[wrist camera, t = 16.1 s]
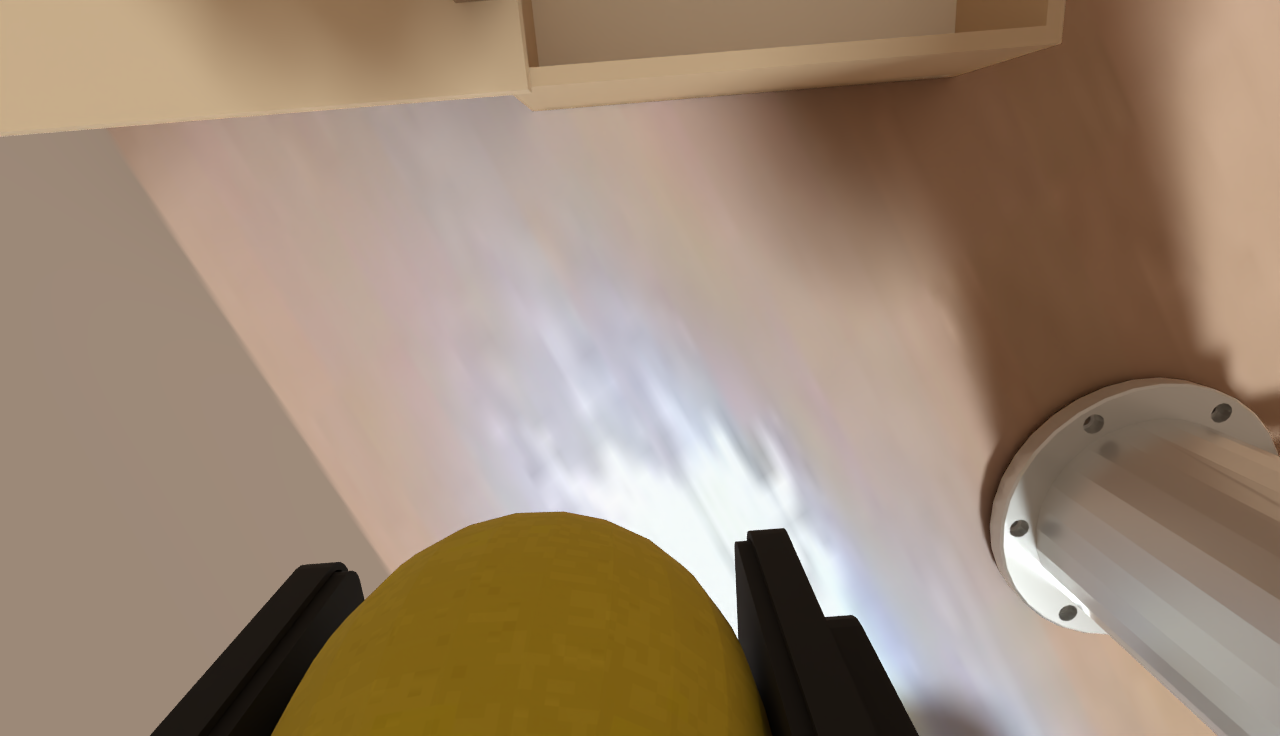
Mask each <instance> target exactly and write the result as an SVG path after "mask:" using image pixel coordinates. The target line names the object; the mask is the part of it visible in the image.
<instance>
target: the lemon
mask: <svg viewBox="0 0 1280 736" xmlns="http://www.w3.org/2000/svg"><path fill="white" fill-rule="evenodd" d="M271 736H772V732H771V729H770V725H769V721H768V718H767V714H766V711H765V708H764V705H763V702H762V700H761V697H760V694H759V691H758V689H757V686H756V683H755V681H754V678H753V675H752V672H751V670H750V667H749V664H748V662H747V659H746V657H745V654H744V652H743V649H742V646H741V644H740V643H739V641H738V639H737V637H736V635H735V633H734V631H733V629H732V627H731V626H730V624H729V623H728V621H727V620H726V619H725V617H724V616H723V614H722V613H721V611H720V610H719V609H718V607H717V606H716V605H715V603H714V602H713V601H712V600H711V598H710V597H709V596H708V594H707V593H706V592H705V590H704V589H703V588H702V586H701V585H700V584H699V582H698V581H697V580H696V578H695V577H694V576H693V575H692V574H691V573H690V572H689V571H688V570H687V569H686V568H685V567H684V566H682V565H681V564H680V563H678V562H677V561H676V560H675V559H673V558H672V557H671V556H670V555H668V554H667V553H666V552H664V551H663V550H662V549H661V548H659V547H658V546H657V545H655V544H654V543H653V542H652V541H650V540H649V539H647V538H645V537H642V536H640V535H638V534H636V533H634V532H631V531H629V530H627V529H625V528H623V527H620V526H618V525H616V524H614V523H612V522H609V521H607V520H604V519H599V518H594V517H589V516H583V515H578V514H573V513H568V512H538V513H515V514H511V515H507V516H503V517H500V518H496V519H492V520H488V521H484V522H480V523H477V524H473V525H470V526H468V527H465V528H463V529H461V530H459V531H457V532H455V533H453V534H452V535H450V536H448V537H446V538H444V539H443V540H441V541H439V542H437V543H435V544H433V545H432V546H430V547H428V548H426V549H424V550H423V551H421V552H419V553H417V554H416V555H414V556H413V557H412V558H410V559H409V560H407V561H406V562H405V563H403V564H402V565H401V566H400V567H398V568H397V569H396V570H395V571H394V572H393V573H392V574H391V575H390V576H389V577H388V578H387V579H386V580H385V581H384V582H383V583H382V584H381V585H380V586H379V587H378V588H377V589H376V590H375V591H374V592H373V593H372V594H371V595H369V596H368V598H366V599H365V600H364V601H363V602H362V603H361V604H360V605H359V606H358V607H357V608H356V609H355V610H354V611H353V612H352V613H351V614H350V615H349V616H348V617H347V618H346V619H345V620H344V622H343V623H342V624H341V625H340V626H339V627H338V629H337V630H336V631H335V632H334V633H333V634H332V635H331V637H330V638H329V639H328V641H327V642H326V644H325V645H324V646H323V648H322V649H321V651H320V652H319V653H318V655H317V656H316V658H315V659H314V660H313V662H312V664H311V665H310V667H309V669H308V670H307V672H306V674H305V675H304V677H303V679H302V680H301V682H300V684H299V686H298V687H297V689H296V691H295V693H294V694H293V696H292V698H291V700H290V702H289V703H288V705H287V707H286V709H285V711H284V713H283V714H282V716H281V718H280V720H279V722H278V723H277V725H276V727H275V729H274V731H273V732H272V734H271Z"/></svg>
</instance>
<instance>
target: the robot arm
mask: <svg viewBox="0 0 1280 736" xmlns="http://www.w3.org/2000/svg"><path fill="white" fill-rule="evenodd" d="M990 535H991V548H992V551H993V554H994V558H995V561H996V564H997V567H998V569H999V571H1000V572H1001V574H1002V576H1003V577H1004V579H1005V581H1006V582H1007V584H1008V586H1009V587H1010V588H1011V589H1012V590H1013V591H1014V592H1015V593H1016V594H1017V595H1018V596H1019V597H1020V599H1021V600H1022V601H1023V602H1024V603H1025V604H1026V605H1027V606H1029V607H1030V608H1031V609H1032V610H1034V611H1035V612H1036V613H1037V614H1039V615H1040V616H1041V617H1042V618H1044V619H1046V620H1048V621H1050V622H1052V623H1054V624H1056V625H1058V626H1061V627H1064V628H1068V629H1071V630H1075V631H1079V632H1083V633H1094V634H1107V635H1108V634H1109V635H1110V636H1111V637H1112V638H1113V639H1114V640H1115V641H1116V642H1117V643H1118V644H1119V645H1120V646H1121V647H1123V648H1124V649H1125V650H1126V651H1127V652H1128V653H1129V654H1130V655H1131V656H1132V657H1133V658H1134V659H1136V660H1137V661H1138V662H1139V663H1140V664H1141V665H1142V666H1143V667H1144V668H1145V669H1146V670H1147V671H1148V672H1150V673H1151V674H1152V675H1153V676H1154V677H1155V678H1156V679H1157V680H1158V681H1159V682H1160V683H1161V684H1163V685H1164V686H1165V687H1166V688H1167V689H1168V690H1169V691H1170V692H1171V693H1172V694H1173V695H1174V696H1175V697H1177V698H1178V699H1179V700H1180V701H1181V702H1182V703H1183V704H1184V705H1185V706H1186V707H1187V708H1188V709H1190V710H1191V711H1192V712H1193V713H1194V714H1195V715H1196V716H1197V717H1198V718H1199V719H1200V720H1201V721H1202V722H1204V723H1205V724H1206V725H1207V726H1208V727H1209V728H1210V729H1211V730H1212V731H1213V732H1214V733H1215V734H1217V735H1218V736H1280V457H1279V456H1278V451H1277V449H1276V447H1275V444H1274V442H1273V439H1272V437H1271V435H1270V432H1269V431H1268V429H1267V428H1266V427H1265V425H1264V424H1263V423H1262V421H1261V420H1260V419H1259V417H1258V416H1257V415H1256V414H1255V413H1254V412H1253V411H1252V410H1250V409H1249V408H1248V407H1246V406H1245V405H1244V404H1243V403H1241V402H1240V401H1239V400H1238V399H1236V398H1233V397H1231V396H1229V395H1227V394H1224V393H1222V392H1220V391H1218V390H1216V389H1213V388H1210V387H1206V386H1203V385H1200V384H1197V383H1194V382H1190V381H1187V380H1180V379H1170V378H1160V377H1159V378H1147V379H1136V380H1130V381H1126V382H1122V383H1118V384H1115V385H1111V386H1107V387H1104V388H1102V389H1099V390H1097V391H1095V392H1093V393H1090V394H1088V395H1086V396H1084V397H1081V398H1079V399H1077V400H1076V401H1074V402H1073V403H1071V404H1070V405H1068V406H1066V407H1065V408H1063V409H1062V410H1060V411H1059V412H1057V413H1056V414H1054V415H1053V416H1052V417H1051V418H1049V419H1048V420H1047V421H1046V422H1045V423H1044V424H1043V425H1042V426H1041V427H1039V428H1038V429H1037V430H1036V431H1035V432H1034V433H1033V434H1032V435H1031V436H1030V437H1029V438H1028V440H1027V441H1026V442H1025V443H1024V445H1023V446H1022V447H1021V448H1020V449H1019V451H1018V452H1017V453H1016V454H1015V456H1014V457H1013V459H1012V461H1011V463H1010V464H1009V466H1008V468H1007V470H1006V471H1005V473H1004V475H1003V477H1002V478H1001V481H1000V484H999V487H998V490H997V493H996V496H995V498H994V501H993V507H992V514H991V521H990ZM735 571H736V594H737V617H738V641H739V643H740V644H741V646H742V649H743V652H744V654H745V657H746V659H747V662H748V664H749V667H750V670H751V672H752V675H753V678H754V681H755V683H756V686H757V689H758V691H759V694H760V697H761V700H762V702H763V705H764V708H765V711H766V714H767V718H768V721H769V725H770V729H771V732H772V736H919V735H918V733H917V731H916V729H915V727H914V725H913V724H912V722H911V720H910V718H909V716H908V714H907V712H906V710H905V708H904V706H903V704H902V702H901V700H900V698H899V697H898V695H897V693H896V691H895V689H894V687H893V685H892V683H891V681H890V679H889V677H888V675H887V673H886V671H885V670H884V668H883V666H882V664H881V662H880V660H879V658H878V656H877V654H876V652H875V650H874V648H873V646H872V644H871V643H870V641H869V639H868V637H867V635H866V633H865V631H864V629H863V627H862V625H861V624H860V622H859V621H858V619H857V618H856V617H854V616H853V615H847V616H834V617H824V614H823V612H822V610H821V608H820V605H819V603H818V601H817V599H816V596H815V594H814V592H813V590H812V587H811V585H810V583H809V581H808V578H807V576H806V574H805V572H804V569H803V567H802V565H801V563H800V560H799V558H798V556H797V553H796V551H795V549H794V547H793V544H792V542H791V540H790V538H789V535H788V533H787V531H786V530H785V529H784V528H780V529H767V530H754V531H748V533H747V541H738V542H735ZM363 601H364V596H363V592H362V587H361V583H360V579H359V576H358V575H357V573H356V572H354V571H348V569H347V567H346V566H345V565H344V564H343V563H341V562H335V563H321V564H307V565H302V566H300V567H298V568H297V569H296V570H295V571H294V572H293V574H292V575H291V576H290V577H289V578H288V579H287V580H286V582H284V584H283V585H282V586H281V587H280V588H279V589H278V590H277V592H276V593H275V594H274V595H273V596H272V597H271V598H270V600H269V601H268V602H267V603H266V604H265V605H264V606H263V608H262V609H261V610H260V611H259V612H258V613H257V614H256V616H255V617H254V618H253V619H252V620H251V622H250V623H248V625H247V626H246V627H245V628H244V629H243V630H242V631H241V633H240V634H239V635H238V636H237V637H236V639H234V641H233V642H232V643H231V644H230V645H229V646H228V647H227V649H226V650H225V651H224V652H223V653H222V654H221V655H220V656H219V658H218V659H217V660H216V661H215V662H214V663H213V664H212V666H211V667H210V668H209V669H208V670H207V671H206V672H205V674H204V675H203V676H202V677H201V678H200V679H199V680H198V682H197V683H196V684H195V685H194V686H193V687H192V689H191V690H190V691H189V692H188V693H187V694H186V695H185V697H184V698H183V699H182V700H181V701H180V702H179V703H178V704H177V706H176V707H175V708H174V709H173V710H172V711H171V712H170V713H169V715H168V716H167V717H166V718H165V719H164V720H163V721H162V723H161V724H160V725H159V726H158V727H157V728H156V730H154V732H153V733H152V734H151V735H150V736H271V734H272V732H273V731H274V729H275V727H276V725H277V723H278V722H279V720H280V718H281V716H282V714H283V713H284V711H285V709H286V707H287V705H288V703H289V702H290V700H291V698H292V696H293V694H294V693H295V691H296V689H297V687H298V686H299V684H300V682H301V680H302V679H303V677H304V675H305V674H306V672H307V670H308V669H309V667H310V665H311V664H312V662H313V660H314V659H315V658H316V656H317V655H318V653H319V652H320V651H321V649H322V648H323V646H324V645H325V644H326V642H327V641H328V639H329V638H330V637H331V635H332V634H333V633H334V632H335V631H336V630H337V629H338V627H339V626H340V625H341V624H342V623H343V622H344V620H345V619H346V618H347V617H348V616H349V615H350V614H351V613H352V612H353V611H354V610H355V609H356V608H357V607H358V606H359V605H360V604H361V603H362V602H363Z"/></svg>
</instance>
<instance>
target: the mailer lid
mask: <svg viewBox="0 0 1280 736" xmlns="http://www.w3.org/2000/svg"><path fill="white" fill-rule="evenodd" d="M530 93H532V90H531V82H530V73H529V65H528V56H527V48H526V40H525V31H524V23H523V14H522V6H521V0H0V137H2V136H14V135H26V134H39V133H51V132H62V131H75V130H86V129H87V130H88V129H100V128H112V127H125V126H137V125H149V124H161V123H174V122H186V121H198V120H211V119H223V118H235V117H247V116H260V115H272V114H284V113H296V112H309V111H321V110H333V109H346V108H358V107H370V106H382V105H395V104H407V103H419V102H431V101H444V100H456V99H468V98H480V97H493V96H505V95H517V94H530Z"/></svg>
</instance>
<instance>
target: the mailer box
mask: <svg viewBox="0 0 1280 736" xmlns="http://www.w3.org/2000/svg"><path fill="white" fill-rule="evenodd" d="M1065 5H1066V0H521V6H522V14H523V23H524V31H525V40H526V48H527V56H528V65H529V73H530V82H531V90H532V93H530V94H517V95H514V96H515V97H516V98H517V99H518V100H520V101H521V102H522V103H523V104H525V105H526V106H527V107H528V108H530V109H531V110H532V111H542V110H554V109H566V108H578V107H591V106H603V105H615V104H627V103H640V102H652V101H664V100H676V99H688V98H701V97H713V96H725V95H737V94H750V93H762V92H774V91H786V90H799V89H811V88H823V87H835V86H848V85H860V84H872V83H884V82H896V81H909V80H921V79H933V78H945V77H956V76H959V75H962V74H965V73H968V72H972V71H975V70H978V69H981V68H985V67H988V66H991V65H994V64H997V63H1001V62H1004V61H1007V60H1010V59H1013V58H1017V57H1020V56H1023V55H1026V54H1030V53H1033V52H1036V51H1039V50H1042V49H1046V48H1049V47H1052V46H1055V45H1059V44H1062V34H1063V24H1064V14H1065Z"/></svg>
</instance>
